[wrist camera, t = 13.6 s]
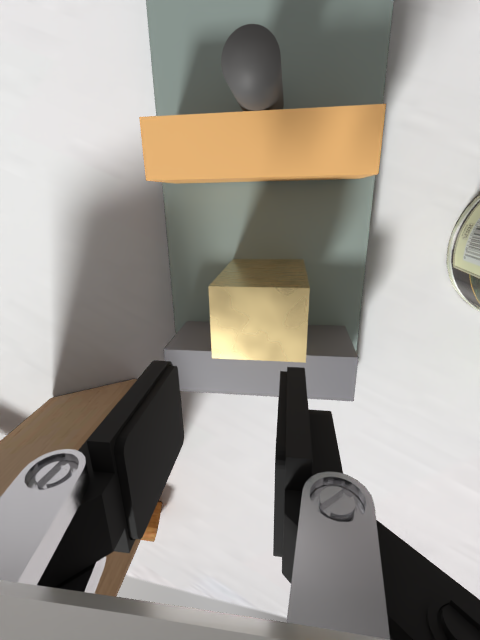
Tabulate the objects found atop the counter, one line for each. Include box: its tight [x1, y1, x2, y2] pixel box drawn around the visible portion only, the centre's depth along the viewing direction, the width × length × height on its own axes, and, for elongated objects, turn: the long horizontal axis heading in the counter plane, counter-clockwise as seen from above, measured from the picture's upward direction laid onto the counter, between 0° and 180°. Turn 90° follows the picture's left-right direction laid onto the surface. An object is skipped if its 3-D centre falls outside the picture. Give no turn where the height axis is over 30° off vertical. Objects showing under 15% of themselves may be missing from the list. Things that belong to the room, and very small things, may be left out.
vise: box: [146, 0, 394, 401], centre depth 21 cm, size 14×30×7 cm, turn 1°
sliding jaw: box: [139, 24, 386, 184], centre depth 18 cm, size 12×5×8 cm, turn 91°
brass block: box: [208, 259, 310, 363], centre depth 21 cm, size 5×4×8 cm
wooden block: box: [0, 379, 141, 597], centre depth 25 cm, size 10×10×20 cm
